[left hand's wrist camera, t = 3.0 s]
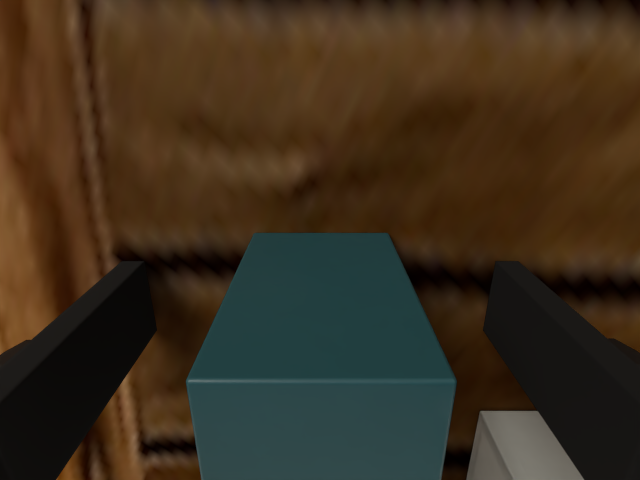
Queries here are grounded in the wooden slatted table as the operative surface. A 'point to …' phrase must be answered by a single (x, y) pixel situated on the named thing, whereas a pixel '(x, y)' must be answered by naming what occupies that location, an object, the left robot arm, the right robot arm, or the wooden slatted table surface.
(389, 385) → the teal block
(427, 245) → the wooden slatted table surface
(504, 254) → the wooden slatted table surface
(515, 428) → the handled box
